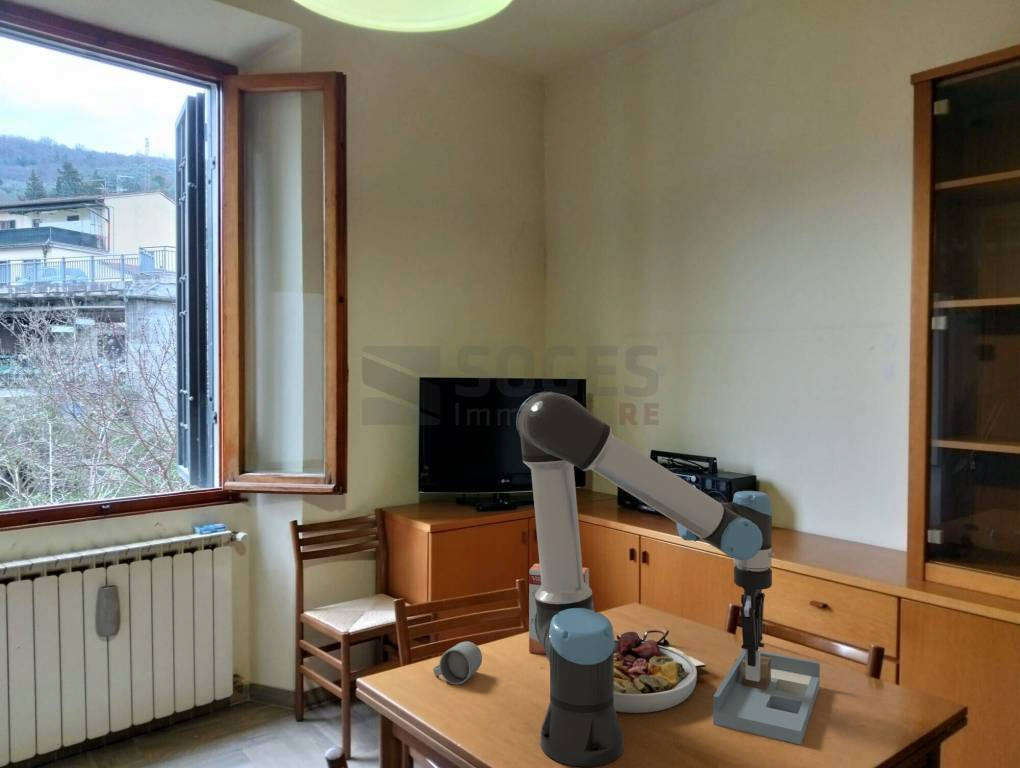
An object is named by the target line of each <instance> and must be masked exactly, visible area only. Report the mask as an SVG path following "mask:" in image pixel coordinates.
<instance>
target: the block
mask: <svg viewBox="0 0 1020 768" xmlns="http://www.w3.org/2000/svg"><path fill="white" fill-rule="evenodd" d="M770 682H771V658H768V657H762V656H760V681H759V682H757V681H752V680H747V679H745V657H744V659H743V660H742V685H744V686H749V687H753V688H758V689H763V690H767V688H768V686H769V684H770Z"/></svg>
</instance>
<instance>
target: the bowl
mask: <svg viewBox="0 0 1020 768" xmlns="http://www.w3.org/2000/svg"><path fill="white" fill-rule="evenodd" d="M614 641H615V645H614V707H615V711H616V713H617V712H618V713H629V714H630V713H631V714H641V713H642V714H644V713H655V712H659V711H663V710H666V709H670V708H672V707H676V706H677V705H679V704H682V702H684V701H686V699H687V698H689V697H690V695H692V693H693V691H694V689H695V687H696V685H697V680H698V677H697V676H698V671H697V667H696V665H695V664H694V663H693V662H692V660H691V659H690V658H688V657H687V656H685V655H684V654H682V653H680V652H678V651H677V650H674V649H672V648H669V647H666V646H662V645H661V644H660V645H659V643H657V641H656V640H654V639H648V640H646V641H642V639H641V637H639V635H638V634H636V633H635V632H631V631H629V632H625V633H624V634H622V635H620V637H619V639H615V640H614Z"/></svg>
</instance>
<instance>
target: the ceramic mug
mask: <svg viewBox="0 0 1020 768" xmlns="http://www.w3.org/2000/svg"><path fill="white" fill-rule="evenodd" d="M482 661H483V654H482V651H481V649H480V648H479V646H478V645H477V644H475V643H474V642H472V641H462V642H459V643H457V644H455V645H454V646H452V647H451V648H449V649H447V650H445V652H443V654H442V655H441V657H440V660H439V663H438V665H436V666H435V667H433V668H432V671H433V674H434V676H442V677H443V679H444V680H445V681H446V682H448V683H449V684H452V685H463V683H465V682H467V681H468V680H469V679H470V678H471V677H472V676H473V675H474V674H476V672H477V671H478V670H479V669H480V666H481V665H482Z"/></svg>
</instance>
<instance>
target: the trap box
mask: <svg viewBox="0 0 1020 768" xmlns="http://www.w3.org/2000/svg"><path fill="white" fill-rule="evenodd" d="M742 649H743V648H742ZM760 656H762V657H768V658H771V682H770V684H769V686H768V688H767V690H763V689H758V688H753V687H749V686H744V685H742V660H743V659H744V657H745V649H743V650H742V651H741V652H740V654H739V655H738V656H737V658H736V660H735V662H734V663H733V665H732V666H731V668H730V669H729V671H728V673H727V674H726V675H725V677H724V678H723V680H722V682H721V683H720V685H719V686H718V688H717V689H716V691H715V692H714V694H713V697H712V700H713V701H712V704H713V705H712V709H713V710H712V712H713V713H712V718H713V719H712V721H713V722H712V725H715V726H720V727H724V728H727V729H731V730H732V729H733V730H737V731H741V732H745V733H749V734H752V735H753V734H754V735H757V736H761V737H766V738H771V739H774V740H779V741H782V742H786V743H791V744H795V745H799V746H802V744H803V740H804V737H805V733H806V731H807V727H808V725H809V721H810V719H811V716H812V711H813V709H814V706H815V702H816V700H817V698H818V697H817V696H818V693H819V690H820V677H821V676H820V674H821V673H820V672H821V671H820V670H821V669H820V665H821V664H820V663H821V662H820V661H815V660H809V659H803V658H798V657H794V656H786V655H783V654H776V653H771V652H765V651H760Z"/></svg>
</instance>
